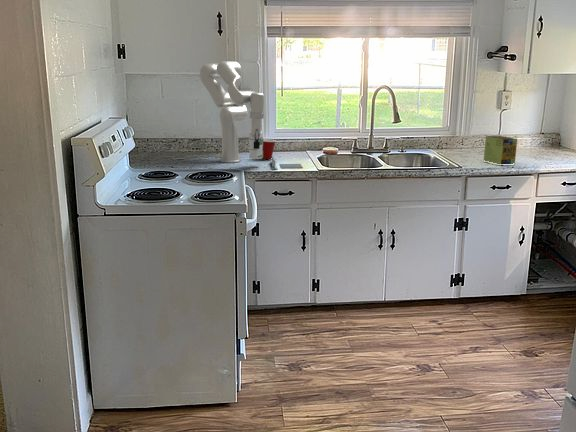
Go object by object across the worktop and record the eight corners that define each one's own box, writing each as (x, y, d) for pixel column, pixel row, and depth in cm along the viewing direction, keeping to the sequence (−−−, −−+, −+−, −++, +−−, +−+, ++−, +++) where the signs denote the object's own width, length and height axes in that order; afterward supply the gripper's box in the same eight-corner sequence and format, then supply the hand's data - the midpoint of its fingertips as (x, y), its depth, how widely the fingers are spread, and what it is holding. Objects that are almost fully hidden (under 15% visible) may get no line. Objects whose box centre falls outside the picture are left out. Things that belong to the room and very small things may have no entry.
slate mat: (281, 168, 331) (281, 167, 331) (279, 164, 343) (279, 163, 343) (302, 168, 332) (302, 167, 332) (300, 164, 344) (300, 163, 344)
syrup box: (257, 159, 332) (257, 133, 327) (248, 157, 335) (249, 131, 330) (263, 157, 336) (263, 131, 332) (254, 156, 339) (255, 130, 335)
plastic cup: (277, 160, 356) (277, 140, 353) (258, 160, 355) (258, 140, 352) (275, 157, 366) (275, 138, 363) (257, 157, 365) (257, 138, 362)
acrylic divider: (271, 169, 327) (271, 160, 326) (269, 163, 346) (269, 154, 345) (277, 169, 327) (277, 160, 326) (274, 163, 347) (274, 154, 345)
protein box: (500, 166, 343) (503, 139, 339) (482, 162, 357) (485, 136, 353) (515, 165, 347) (518, 138, 343) (497, 161, 361) (499, 135, 357)
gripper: (249, 113, 337) (249, 144, 342) (250, 117, 320) (249, 150, 325) (262, 113, 337) (262, 144, 342) (264, 117, 321) (263, 150, 326)
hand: (256, 147), depth 334 cm, fingers closed on syrup box, 7 cm apart
